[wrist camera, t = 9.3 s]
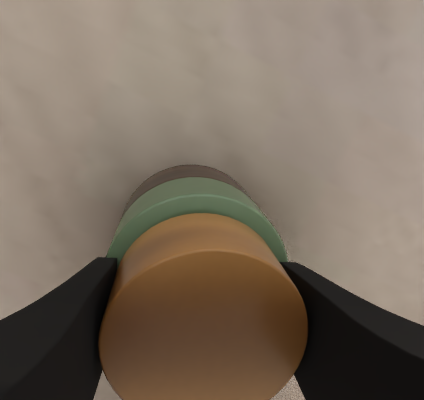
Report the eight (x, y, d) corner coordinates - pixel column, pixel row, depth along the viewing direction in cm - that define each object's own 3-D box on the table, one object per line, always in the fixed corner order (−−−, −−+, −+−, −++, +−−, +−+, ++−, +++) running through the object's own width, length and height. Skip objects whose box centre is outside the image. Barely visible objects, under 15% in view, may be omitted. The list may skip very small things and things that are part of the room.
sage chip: (259, 319, 15) (275, 359, 13) (112, 319, 14) (101, 362, 12) (280, 181, 13) (303, 199, 11) (113, 171, 12) (100, 188, 10)
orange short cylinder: (266, 355, 12) (291, 421, 10) (113, 358, 11) (98, 431, 9) (290, 216, 11) (326, 252, 8) (114, 208, 10) (96, 245, 7)
